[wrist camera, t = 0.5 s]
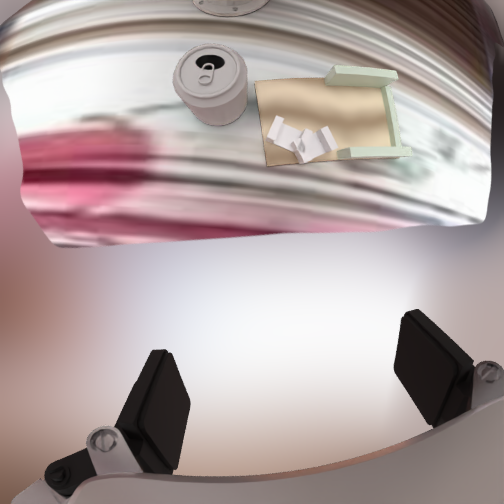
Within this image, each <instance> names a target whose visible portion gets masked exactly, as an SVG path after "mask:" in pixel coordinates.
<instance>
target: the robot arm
mask: <svg viewBox="0 0 504 504" xmlns="http://www.w3.org/2000/svg"><path fill="white" fill-rule="evenodd" d="M192 1H193V3H194V4H195V6H196V7H197V8H199V9H200V10H201V11H204V12H206V13H209V14H212V15H217V16H238V15H243V14H247V13H250V12H253V11H255V10H257V9H260V8H261V7H262V6H264V5H265V4H266V3H267V2H268V1H269V0H192ZM473 362H474V360H472V358H471V357H469V355H468V354H467V353H465V352H464V351H463V350H462V349H461V348H460V347H459V346H458V345H457V344H456V343H455V342H454V341H453V340H452V339H450V337H449V336H448V335H447V334H446V333H444V332H443V331H442V330H441V329H440V328H439V327H438V326H437V325H436V324H435V323H434V322H433V321H431V320H430V319H429V318H428V317H427V316H426V315H425V314H424V313H422V312H421V311H420V310H419V309H415V310H412V311H408V312H406V313H405V314H404V317H402V318H401V325H400V332H399V339H398V345H397V351H396V357H395V362H394V372H395V374H396V375H397V377H398V378H399V380H400V381H401V383H402V384H403V386H404V387H405V389H406V390H407V392H408V394H409V395H410V397H411V398H412V400H413V402H414V403H415V405H416V406H417V408H418V409H419V411H420V413H421V414H422V416H423V417H424V419H425V420H426V422H427V424H429V425H432V426H433V429H431V430H429V431H427V432H425V433H422V434H420V435H418V436H415V437H413V438H411V439H408V440H406V441H403V442H401V443H398V444H395V445H393V446H390V447H387V448H384V449H381V450H378V451H375V452H372V453H369V454H366V455H362V456H359V457H355V458H352V459H348V460H344V461H340V462H336V463H332V464H327V465H322V466H318V467H313V468H307V469H302V470H295V471H288V472H280V473H272V474H261V475H249V476H182V475H172V474H173V470H176V469H177V468H178V464H179V459H180V454H181V449H182V444H183V439H184V434H185V429H186V425H187V420H188V415H189V411H190V398H189V396H188V393H187V391H186V388H185V386H184V383H183V381H182V379H181V376H180V373H179V371H178V368H177V365H176V362H175V360H174V357H173V355H172V353H168V351H167V350H166V349H163V350H152V351H151V353H150V355H149V357H148V359H147V361H146V363H145V365H144V367H143V369H142V372H141V373H140V376H139V377H138V380H137V381H136V382H135V384H134V386H133V388H132V390H131V392H130V394H129V396H128V398H127V401H126V402H125V405H124V407H123V409H122V411H121V413H120V415H119V418H118V420H117V422H116V424H115V426H114V427H111V426H102V427H98V428H97V429H95V430H93V431H92V432H91V433H90V434H89V436H88V437H87V441H86V444H87V448H85V449H83V450H81V451H79V452H76V453H74V454H72V455H69V456H67V457H65V458H62V459H60V460H57V461H55V462H53V463H51V464H50V465H49V466H48V467H47V469H46V471H45V475H44V476H45V479H44V480H42V479H41V478H40V479H39V480H37V481H36V482H35V483H33V484H32V485H31V486H29V487H28V488H27V489H25V490H24V491H23V492H21V493H20V494H18V495H17V496H16V497H14V499H13V500H12V502H11V504H504V370H503V368H502V367H501V366H500V365H499V364H497V363H496V362H493V361H483V362H480V363H479V364H477V365H476V367H474V365H473Z"/></svg>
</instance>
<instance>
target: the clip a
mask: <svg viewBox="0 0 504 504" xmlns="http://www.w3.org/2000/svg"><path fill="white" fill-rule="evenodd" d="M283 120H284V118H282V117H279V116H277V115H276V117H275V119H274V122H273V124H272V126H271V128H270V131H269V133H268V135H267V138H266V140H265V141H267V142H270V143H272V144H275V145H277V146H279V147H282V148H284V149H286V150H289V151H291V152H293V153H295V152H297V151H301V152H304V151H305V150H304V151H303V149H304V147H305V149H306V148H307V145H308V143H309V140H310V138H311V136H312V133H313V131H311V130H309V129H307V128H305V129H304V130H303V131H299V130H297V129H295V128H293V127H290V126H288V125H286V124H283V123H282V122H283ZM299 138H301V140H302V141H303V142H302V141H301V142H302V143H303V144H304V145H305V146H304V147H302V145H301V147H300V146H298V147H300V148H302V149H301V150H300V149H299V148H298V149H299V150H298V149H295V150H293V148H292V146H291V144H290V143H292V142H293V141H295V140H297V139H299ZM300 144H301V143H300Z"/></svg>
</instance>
